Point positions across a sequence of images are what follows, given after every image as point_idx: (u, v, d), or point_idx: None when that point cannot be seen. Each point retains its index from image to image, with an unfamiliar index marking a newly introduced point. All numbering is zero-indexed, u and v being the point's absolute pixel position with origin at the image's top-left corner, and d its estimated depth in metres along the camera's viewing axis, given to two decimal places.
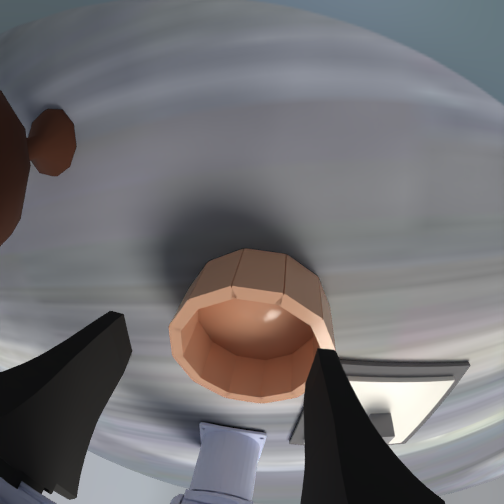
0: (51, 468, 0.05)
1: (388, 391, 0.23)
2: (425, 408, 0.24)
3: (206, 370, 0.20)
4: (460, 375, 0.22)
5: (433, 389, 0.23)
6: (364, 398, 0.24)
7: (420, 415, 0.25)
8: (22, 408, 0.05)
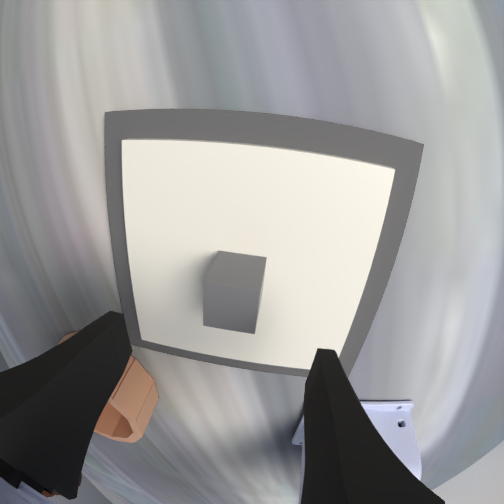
0: (51, 468, 0.05)
1: (151, 273, 0.16)
2: (211, 166, 0.13)
3: (130, 430, 0.21)
4: (127, 118, 0.13)
5: (144, 181, 0.14)
6: (172, 306, 0.17)
7: (242, 166, 0.13)
8: (22, 408, 0.05)
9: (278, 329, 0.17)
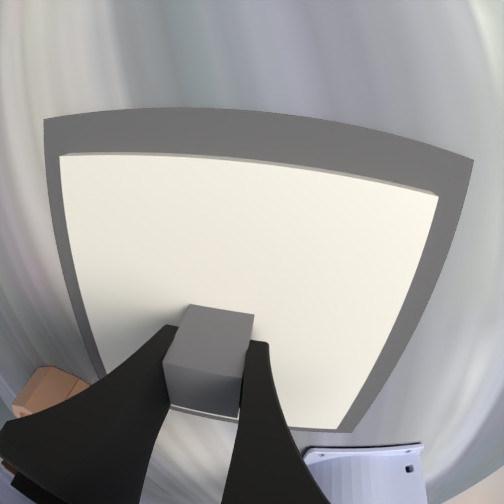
0: (118, 501, 0.05)
1: (111, 323, 0.12)
2: (172, 191, 0.09)
3: None
4: (67, 126, 0.09)
5: (88, 211, 0.10)
6: None
7: (216, 191, 0.09)
8: (96, 448, 0.04)
9: None
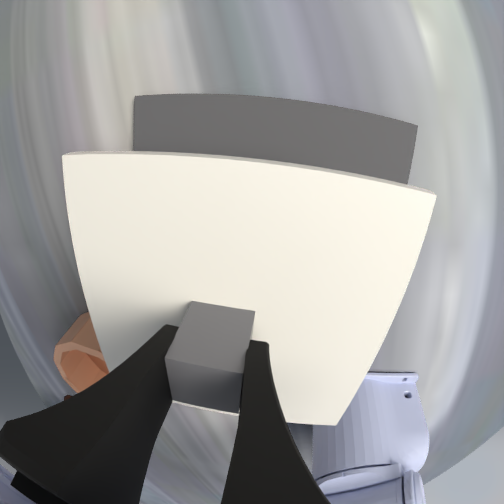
0: (118, 501, 0.05)
1: (113, 320, 0.12)
2: (174, 189, 0.09)
3: None
4: (156, 102, 0.15)
5: (91, 209, 0.10)
6: None
7: (217, 190, 0.09)
8: (96, 447, 0.04)
9: None
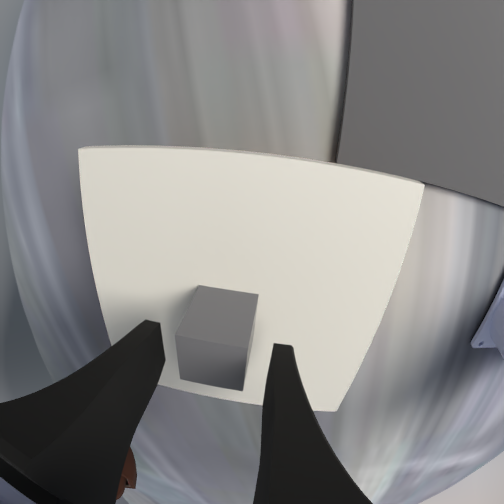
0: (92, 490, 0.05)
1: (122, 307, 0.13)
2: (185, 180, 0.10)
3: None
4: None
5: (105, 199, 0.11)
6: None
7: (225, 180, 0.10)
8: (66, 433, 0.05)
9: None
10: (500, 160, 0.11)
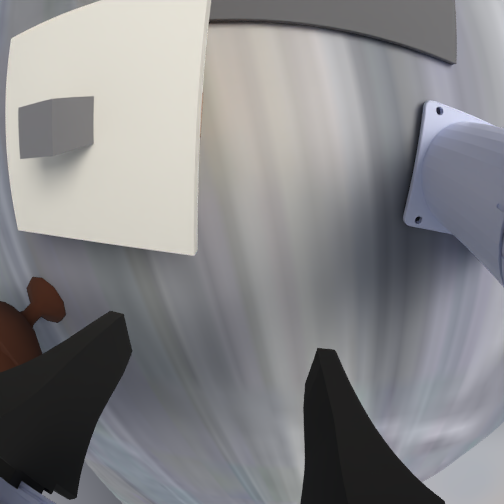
0: (51, 468, 0.05)
1: (18, 145, 0.12)
2: (58, 31, 0.09)
3: None
4: None
5: (19, 62, 0.10)
6: (32, 178, 0.13)
7: (77, 23, 0.09)
8: (22, 408, 0.05)
9: (115, 186, 0.13)
10: None
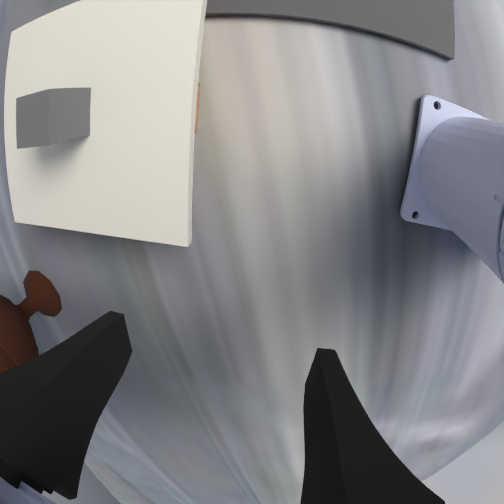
0: (51, 468, 0.05)
1: (16, 137, 0.12)
2: (57, 25, 0.09)
3: None
4: None
5: (18, 55, 0.10)
6: (29, 169, 0.13)
7: (76, 16, 0.09)
8: (22, 408, 0.05)
9: (110, 177, 0.13)
10: None
